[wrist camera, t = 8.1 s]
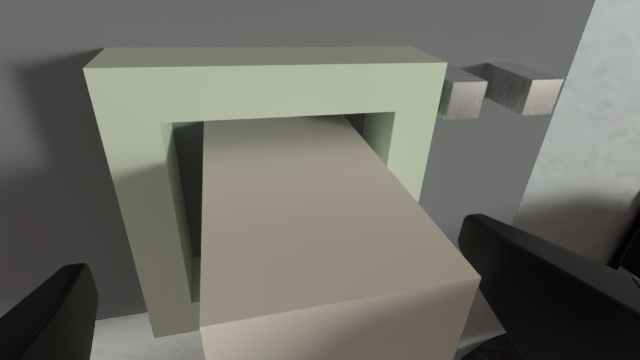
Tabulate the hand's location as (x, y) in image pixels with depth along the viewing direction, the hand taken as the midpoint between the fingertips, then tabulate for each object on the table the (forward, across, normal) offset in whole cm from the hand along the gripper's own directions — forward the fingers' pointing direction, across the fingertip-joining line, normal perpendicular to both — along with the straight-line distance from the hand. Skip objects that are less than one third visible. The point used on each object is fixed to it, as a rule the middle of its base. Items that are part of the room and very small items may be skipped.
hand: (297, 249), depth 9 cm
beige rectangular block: (+4, 0, 0) cm, 4 cm away
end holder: (+4, 0, 0) cm, 4 cm away
